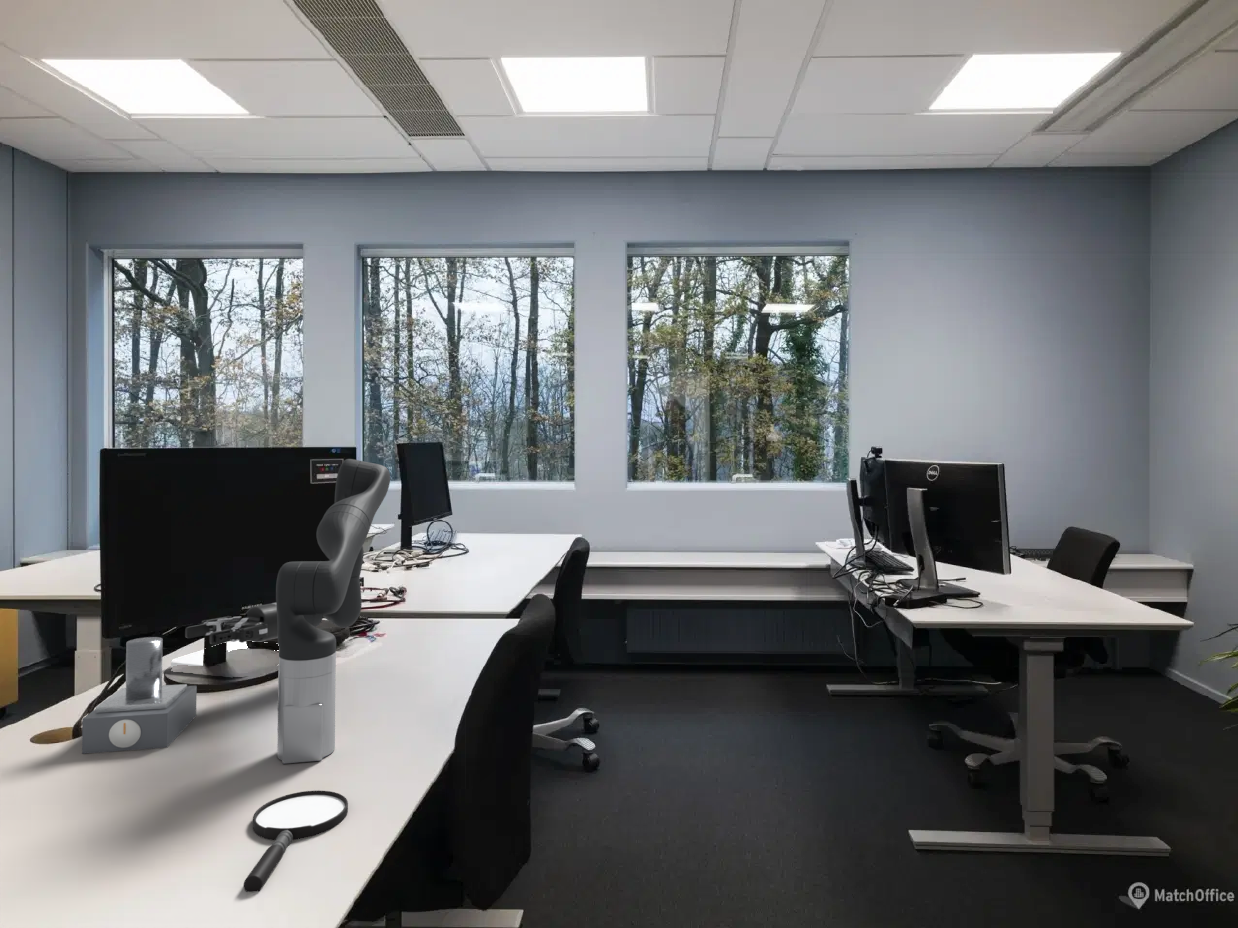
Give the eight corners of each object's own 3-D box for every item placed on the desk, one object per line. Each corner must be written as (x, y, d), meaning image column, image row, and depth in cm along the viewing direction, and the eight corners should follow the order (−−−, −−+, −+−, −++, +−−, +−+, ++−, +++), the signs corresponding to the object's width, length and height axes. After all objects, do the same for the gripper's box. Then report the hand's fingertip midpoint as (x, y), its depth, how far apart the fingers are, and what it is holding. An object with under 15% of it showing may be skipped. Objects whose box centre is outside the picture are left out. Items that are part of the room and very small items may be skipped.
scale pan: (166, 708, 129) (166, 702, 129) (95, 712, 126) (95, 707, 126) (186, 689, 140) (186, 684, 140) (122, 692, 137) (122, 687, 137)
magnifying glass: (196, 897, 85) (196, 878, 85) (271, 804, 109) (271, 789, 109) (307, 891, 86) (307, 873, 86) (357, 800, 110) (357, 786, 110)
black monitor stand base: (163, 672, 172) (163, 661, 172) (233, 649, 193) (234, 639, 193) (241, 680, 166) (242, 669, 166) (305, 656, 188) (305, 645, 188)
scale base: (166, 748, 127) (166, 714, 127) (80, 754, 123) (81, 719, 123) (196, 715, 143) (196, 685, 143) (121, 720, 139) (121, 689, 139)
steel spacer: (155, 698, 131) (156, 643, 131) (120, 700, 130) (121, 645, 130) (166, 689, 137) (167, 636, 137) (133, 690, 135) (133, 637, 135)
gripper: (254, 599, 159) (178, 612, 145) (295, 607, 152) (219, 621, 138) (253, 633, 159) (177, 649, 145) (294, 642, 152) (219, 660, 138)
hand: (198, 635), depth 142 cm, fingers open, 8 cm apart
